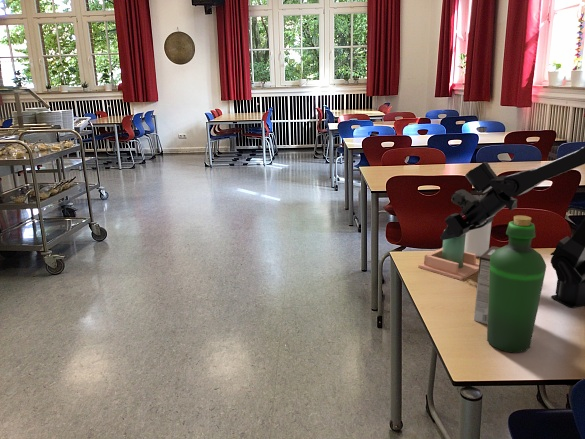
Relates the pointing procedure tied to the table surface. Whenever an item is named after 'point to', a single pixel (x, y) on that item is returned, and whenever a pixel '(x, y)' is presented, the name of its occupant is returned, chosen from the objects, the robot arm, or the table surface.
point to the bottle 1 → (454, 250)
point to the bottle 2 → (514, 288)
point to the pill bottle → (478, 240)
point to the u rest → (450, 265)
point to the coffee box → (483, 287)
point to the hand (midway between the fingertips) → (449, 235)
